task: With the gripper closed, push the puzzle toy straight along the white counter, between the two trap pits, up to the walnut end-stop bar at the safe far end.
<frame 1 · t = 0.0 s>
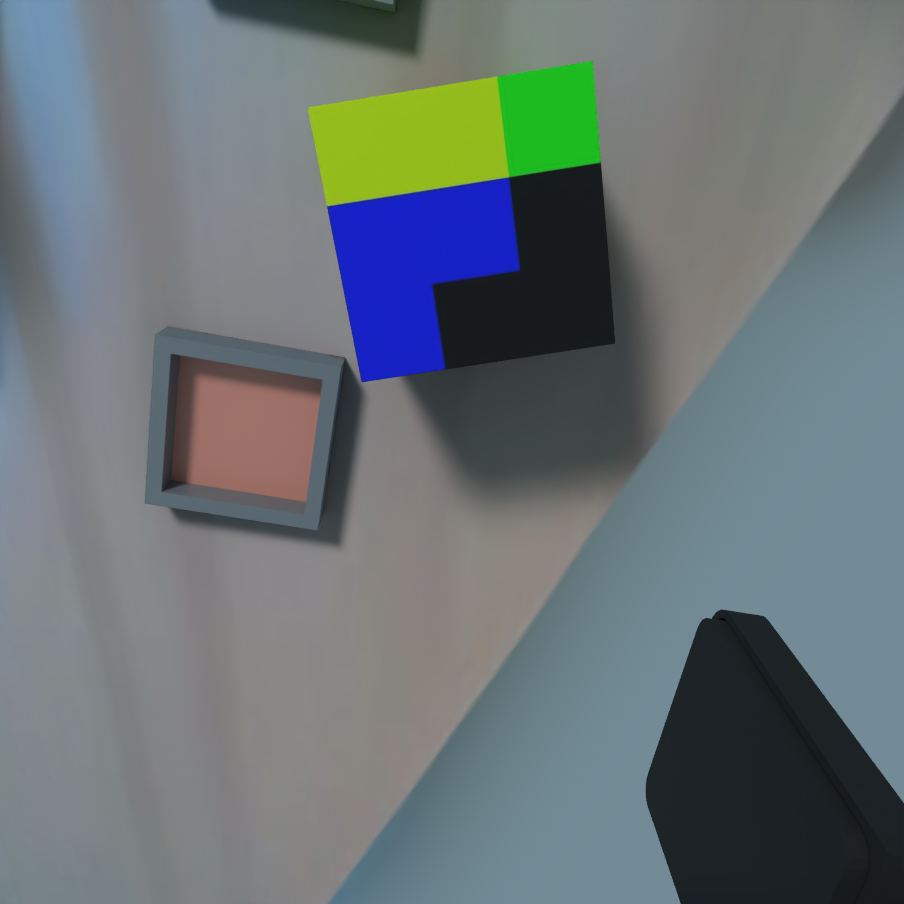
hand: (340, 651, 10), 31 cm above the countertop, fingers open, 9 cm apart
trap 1: (248, 424, 42), on the countertop
puzzle toy: (459, 214, 39), on the countertop
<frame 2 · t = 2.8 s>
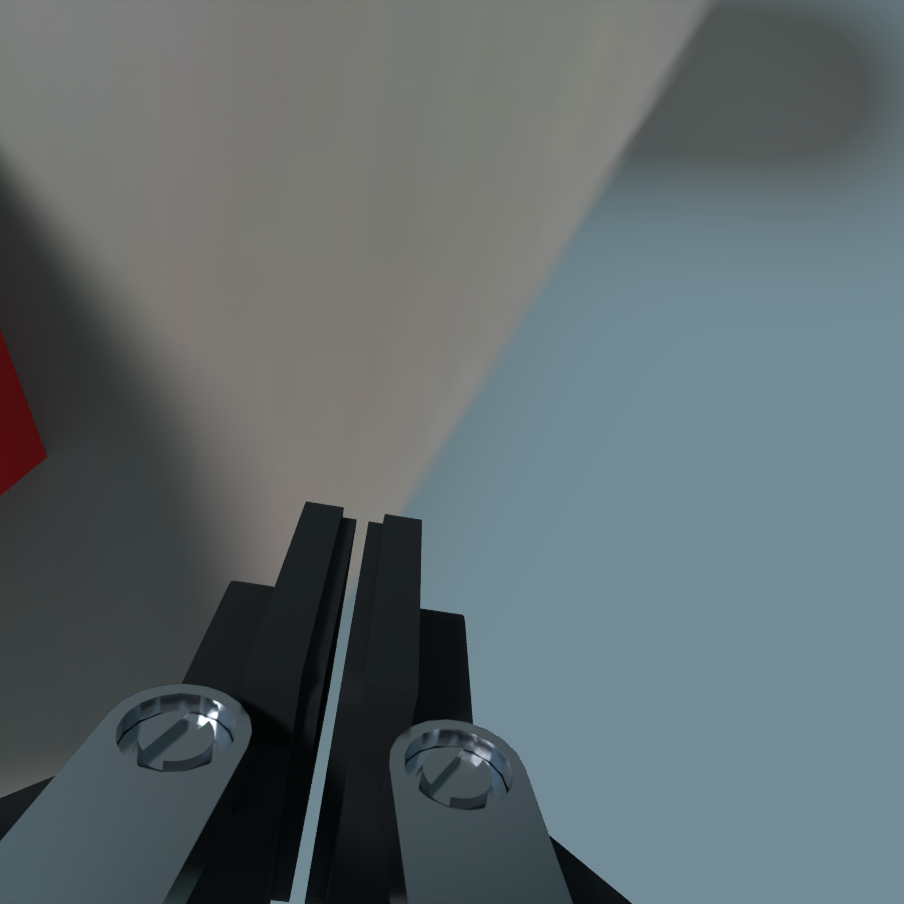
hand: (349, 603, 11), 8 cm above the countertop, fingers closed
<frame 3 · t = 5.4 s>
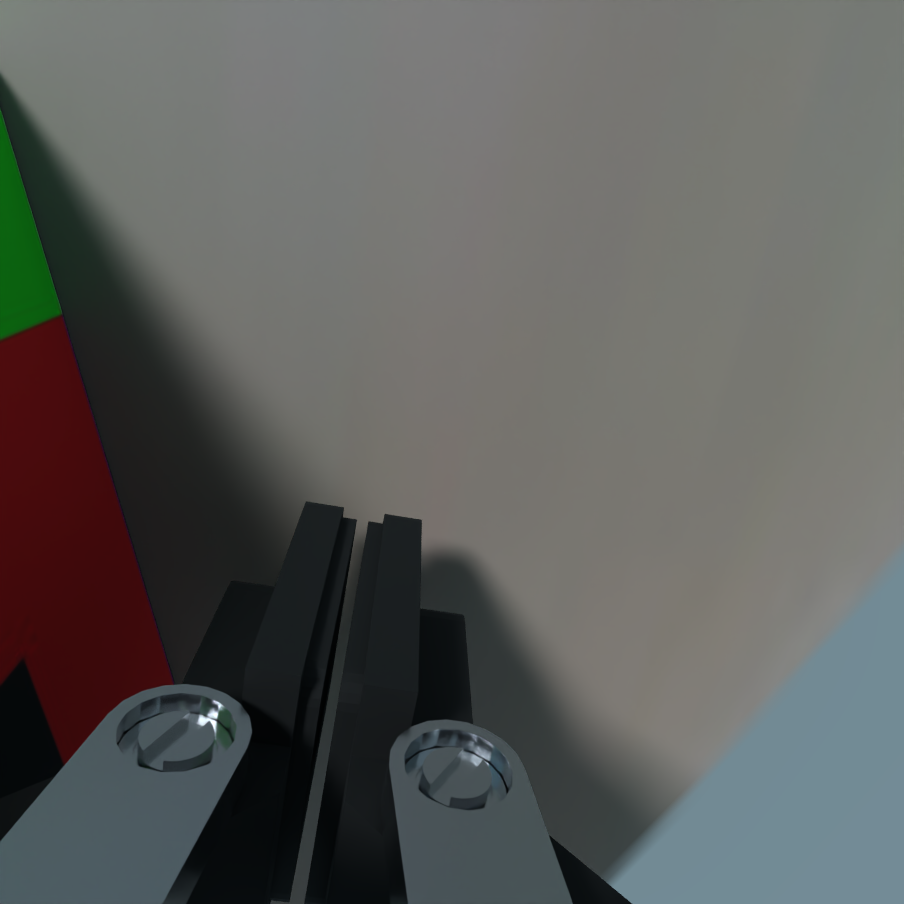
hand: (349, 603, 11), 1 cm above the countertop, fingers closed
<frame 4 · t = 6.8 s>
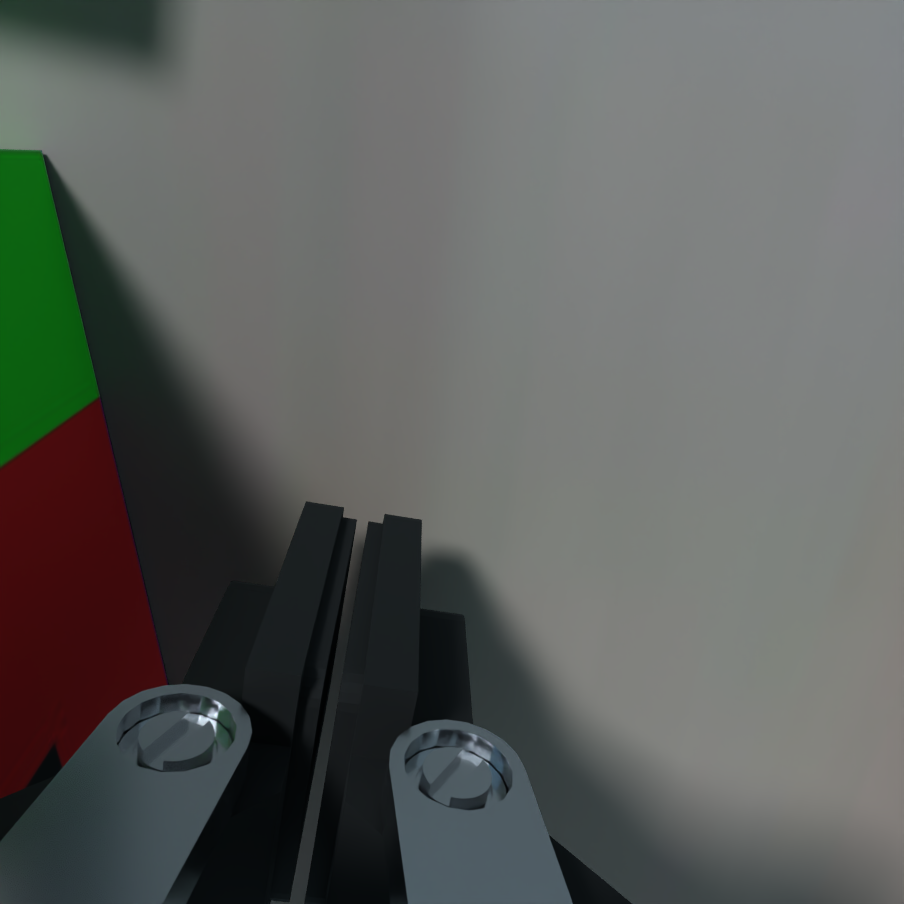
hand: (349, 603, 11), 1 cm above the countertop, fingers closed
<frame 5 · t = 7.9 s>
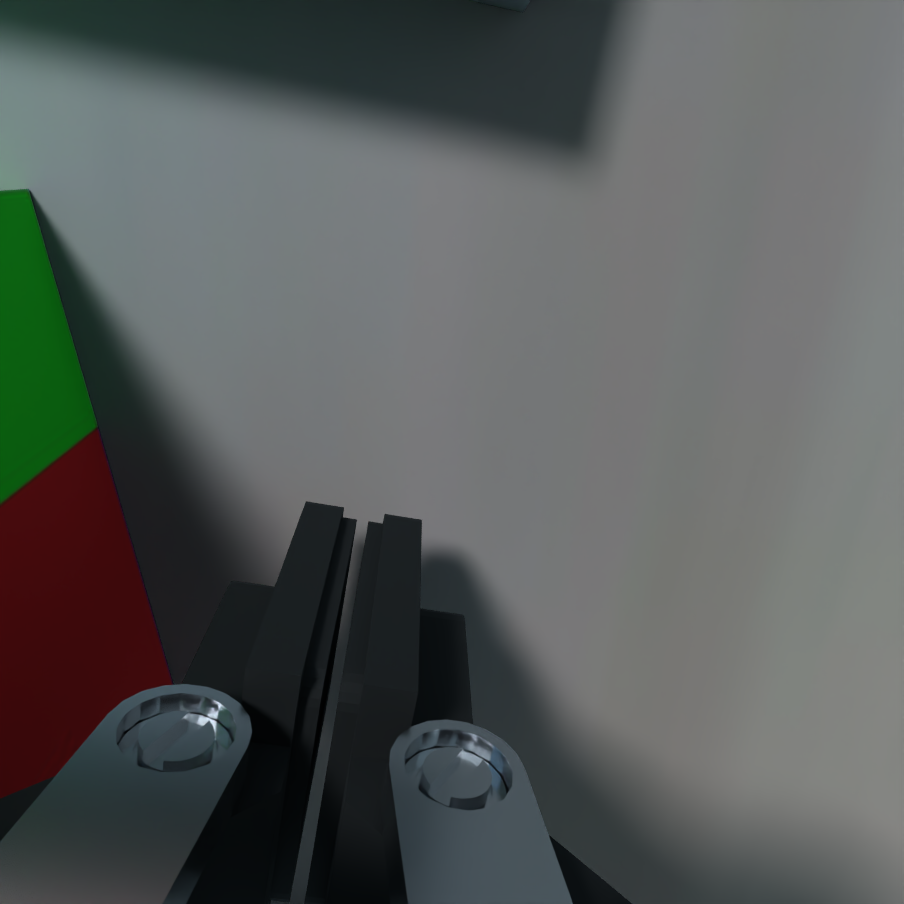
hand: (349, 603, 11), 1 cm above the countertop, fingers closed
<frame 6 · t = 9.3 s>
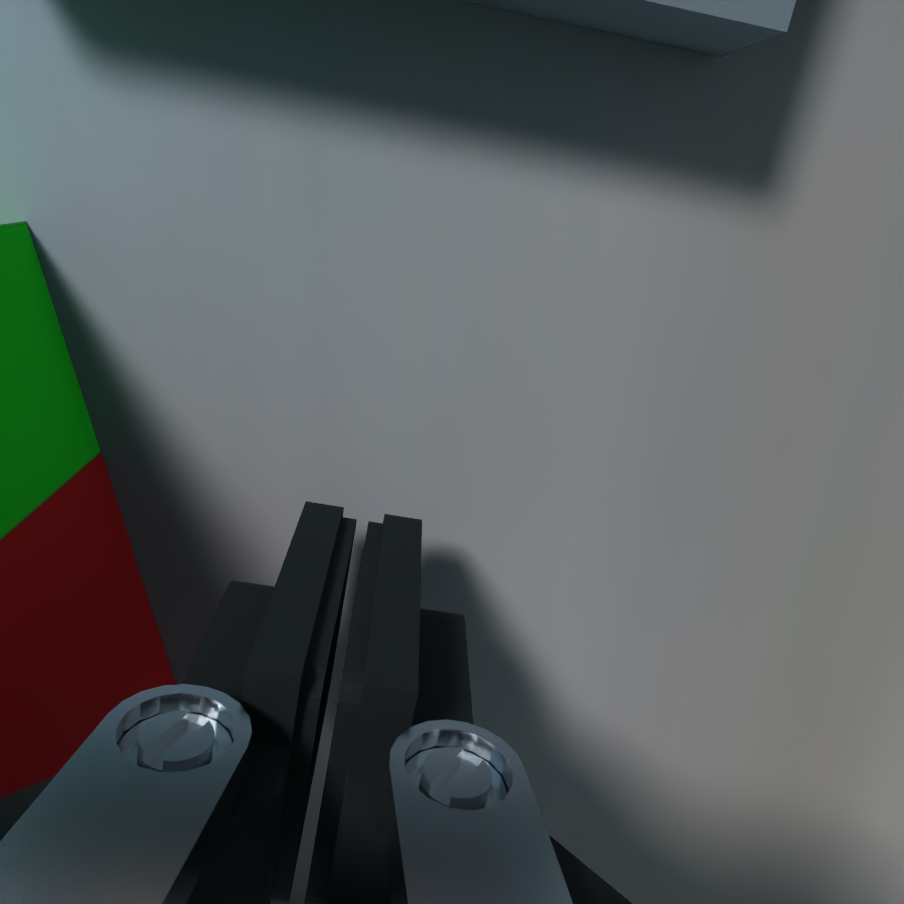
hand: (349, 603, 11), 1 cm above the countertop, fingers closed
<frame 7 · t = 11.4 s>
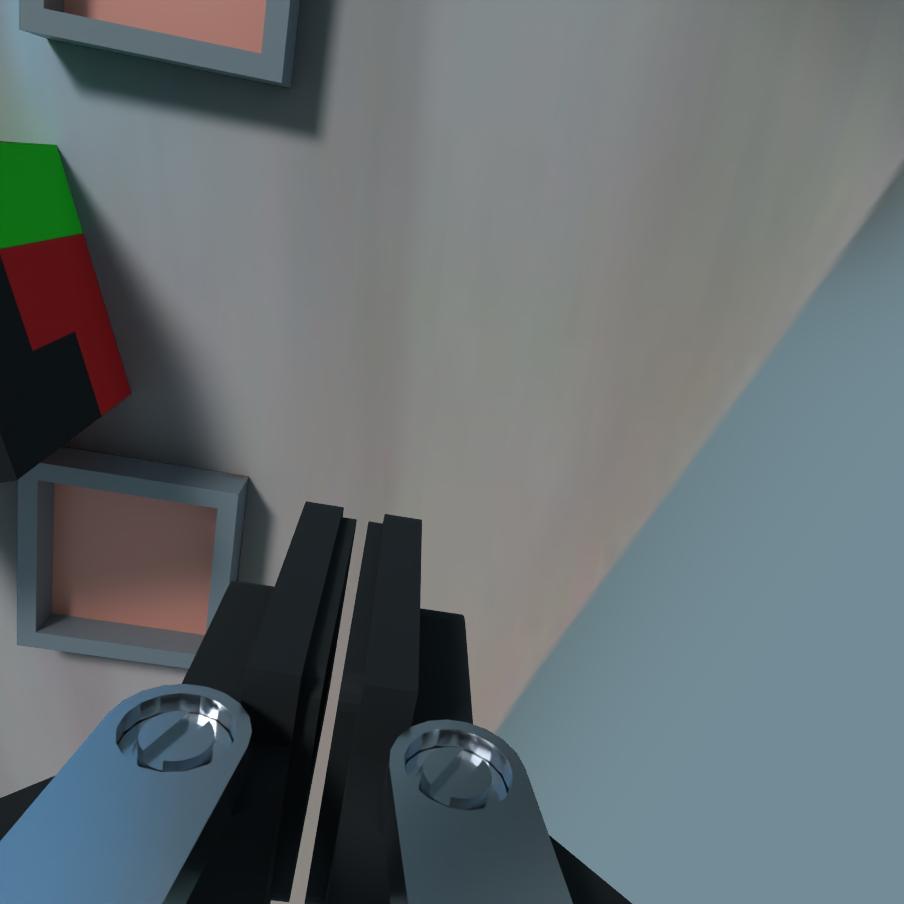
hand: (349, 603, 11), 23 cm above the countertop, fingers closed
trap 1: (140, 550, 36), on the countertop
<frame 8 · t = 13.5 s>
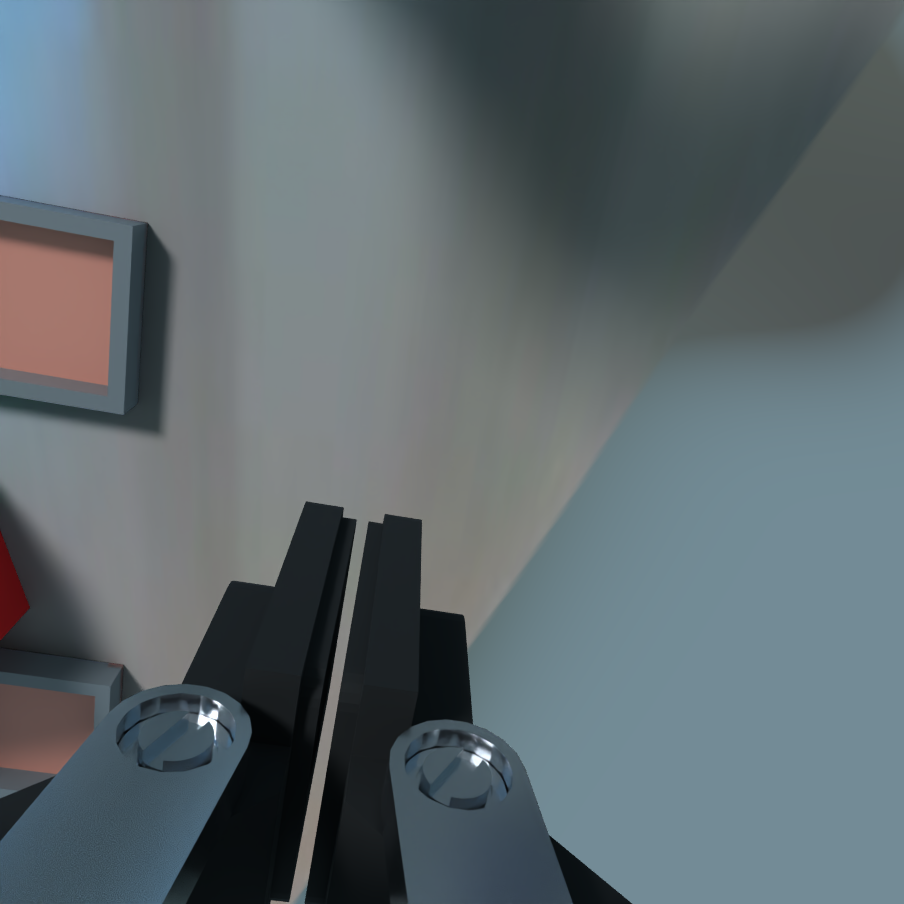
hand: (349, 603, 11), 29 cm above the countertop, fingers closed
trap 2: (48, 299, 38), on the countertop
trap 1: (42, 717, 47), on the countertop
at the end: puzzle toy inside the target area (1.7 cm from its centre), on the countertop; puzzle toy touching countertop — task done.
